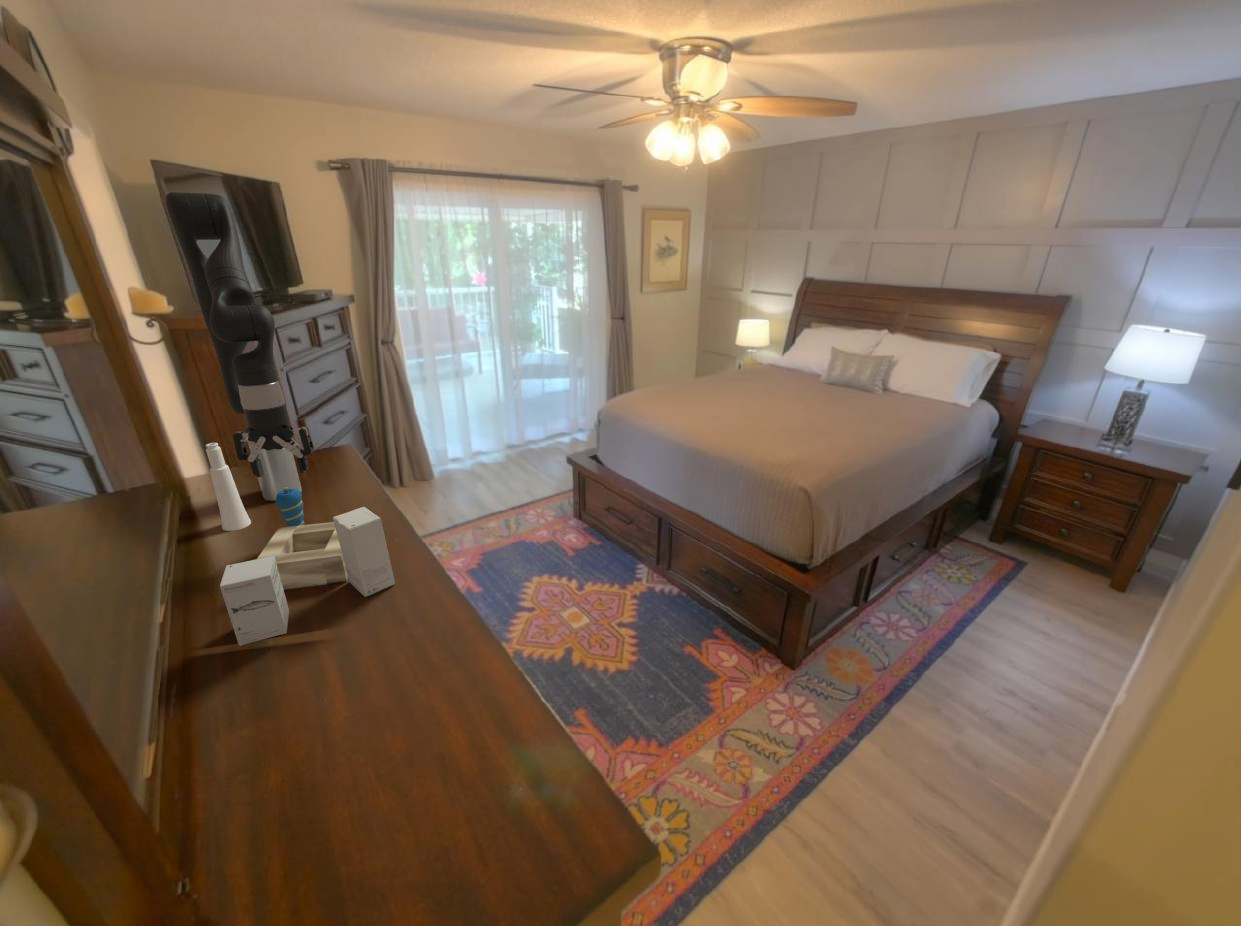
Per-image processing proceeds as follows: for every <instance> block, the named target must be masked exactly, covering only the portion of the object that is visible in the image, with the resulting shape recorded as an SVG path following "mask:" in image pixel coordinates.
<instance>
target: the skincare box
mask: <svg viewBox="0 0 1241 926" xmlns="http://www.w3.org/2000/svg"><path fill="white" fill-rule="evenodd" d="M332 520H333V521H332V522H334V525H335V528H336V532H337V536H338V540H339V543H340V547H341V551H342V555H343V558H344V562H345V566H346V570H347V573H348V580H349V581H348V582H349V583H350V584H351V585H352V587H354V588H355V589H356V590H357V591H358V592H359V593H360V594H361V595H363V597H364V598H367V597H369V596H371V595H374V594H376V593H379V592H381V591H383V590H386V589H387V588H389V587H392V586H393V585H395V584H396V582H395V577H394V573H393V569H392V564H391V560H390V554H389V550H388V546H387V541H386V537H385V533H384V528H383V524H382V518H381V517H380V516H378V515H377V514H375V513H374V512H372V511H371V510H369V509H368V508H367V507H365V506H362V507H359V508H356V509H353V510H350V511H347V512H344V513H342V514H338V515H335V516H333V517H332Z"/></svg>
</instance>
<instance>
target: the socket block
mask: <svg viewBox="0 0 1241 926" xmlns="http://www.w3.org/2000/svg"><path fill="white" fill-rule="evenodd" d="M270 556H275V559H276V564H277V568H278V571H279V575H280V579H281V582H282V586H283V590H284V591H287V590H293V589H295V590H296V589H301V588H308V587H318V586H323V585H324V586H325V585H330V584H338V583H339V584H340V583H346V582H348V580H349V577H348V573H347V570H346V566H345V562H344V558H343V555H342V551H341V547H340V543H339V540H338V536H337V532H336V528H335V525H334V521H331V522H330V521H329V522H322V523H321V522H320V523H312V524H305V525H301V526H292V527H288V526H285V527H278V528H277V530H276V531H275V533H274V534H273V536H272V537H271V538H270V540H269V541H268V542H267V544H266V545H265V546H264V548H263V549H262V551H261V553H259V555H258V556H257V558H256V559H261V558H266V557H270Z"/></svg>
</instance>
